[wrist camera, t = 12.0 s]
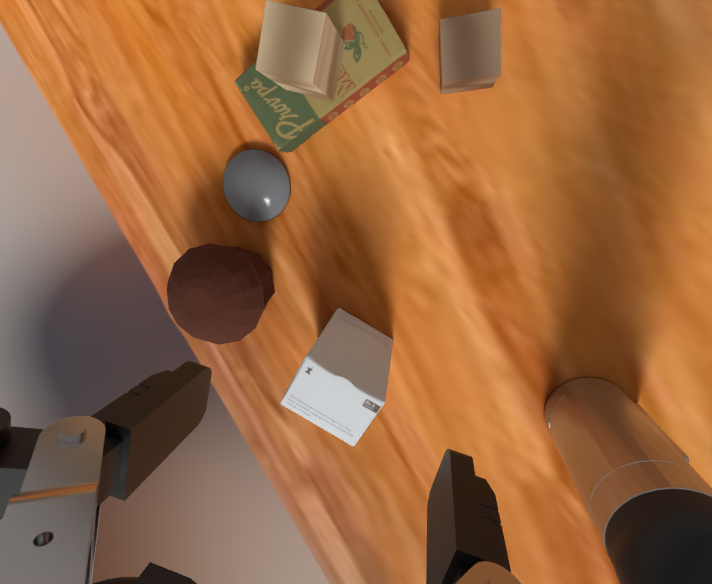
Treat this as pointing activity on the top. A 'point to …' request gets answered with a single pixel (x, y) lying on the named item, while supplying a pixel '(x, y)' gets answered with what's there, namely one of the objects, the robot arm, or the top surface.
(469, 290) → the top surface
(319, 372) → the skincare box
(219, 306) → the muffin
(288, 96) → the carton
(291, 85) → the oak block
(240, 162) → the grey disc
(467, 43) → the walnut block
